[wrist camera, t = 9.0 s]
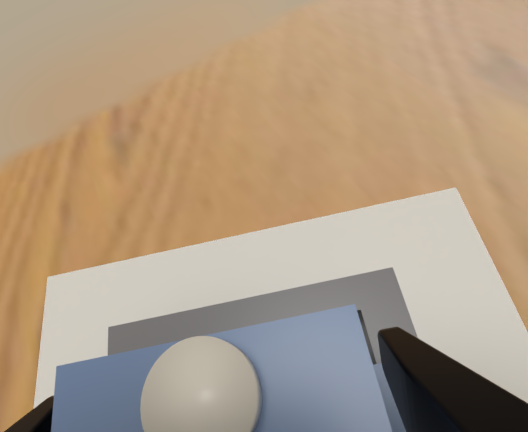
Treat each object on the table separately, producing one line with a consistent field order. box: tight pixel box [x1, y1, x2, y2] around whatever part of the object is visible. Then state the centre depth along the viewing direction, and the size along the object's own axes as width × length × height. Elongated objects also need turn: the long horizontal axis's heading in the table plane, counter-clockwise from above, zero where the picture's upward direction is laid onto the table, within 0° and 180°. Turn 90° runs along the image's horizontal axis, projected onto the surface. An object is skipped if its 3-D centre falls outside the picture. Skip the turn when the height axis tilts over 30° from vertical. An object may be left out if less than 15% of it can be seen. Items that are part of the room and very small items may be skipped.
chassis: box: [34, 188, 528, 408], centre depth 13 cm, size 20×16×4 cm
